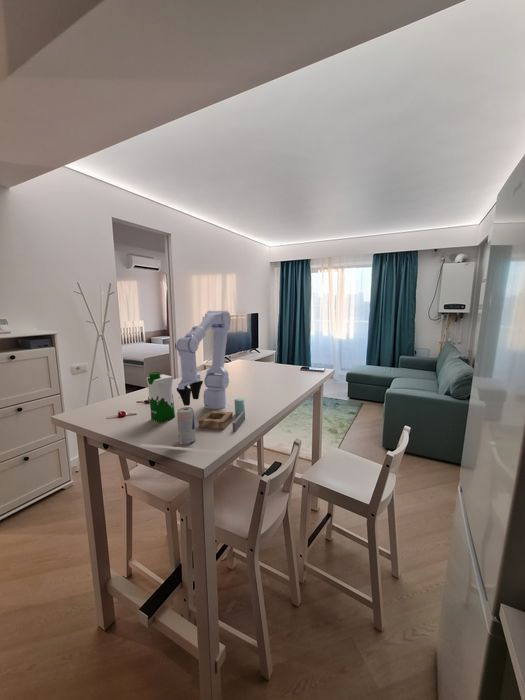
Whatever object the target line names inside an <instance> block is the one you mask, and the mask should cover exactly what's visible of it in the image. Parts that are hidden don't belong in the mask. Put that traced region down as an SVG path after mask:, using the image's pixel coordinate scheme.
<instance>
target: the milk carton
mask: <svg viewBox="0 0 525 700" xmlns="http://www.w3.org/2000/svg"><path fill="white" fill-rule="evenodd" d="M145 380H146V383H147V388H148V396H149V405H150V407H149V408H150V419H153V420H152V421H154V420H155V421H154V422H156V421H157V422H156V423H158V422H159V424H162V423H161V422H163V423H164V421H166V422H168V421H171V420H173V419H174V418H176V413H175V411H176V410H175V404H174V403H175V401H174V391H173V380H174V377H173V376H171V375H168V374H164V373H163V374H161V372H159V371H153V372H149V377H146V379H145ZM170 419H171V420H170ZM167 420H168V421H167Z"/></svg>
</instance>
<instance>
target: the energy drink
mask: <svg viewBox="0 0 525 700" xmlns="http://www.w3.org/2000/svg"><path fill="white" fill-rule="evenodd" d="M176 416H177V417H176V418H177V428H178V430H177V431H178V441H179V444H180V445H183V446H186V445H187V446H188V445H191V444H193V443H195V442H196V441H197V440H196V430H195V429H196V426H195V413H194V409H193V408H192V407H190V406H187V407H186V406H184V407H180V408H179V409H178V408H177V412H176Z"/></svg>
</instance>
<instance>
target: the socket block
mask: <svg viewBox="0 0 525 700" xmlns="http://www.w3.org/2000/svg"><path fill="white" fill-rule="evenodd" d="M233 413H234V412H233V411H219V410H218V411H217V410H216V411H215V410H208V411H207V412H206V413H205V414H204V415H203V416H201V417H200V418H199V419H198V429H213V430H214V429H215V430H225V429H226V428H227V427H228V426H229V425H230V424H231V422H232V421H234V420H233V419H234V416H233V415H234V414H233Z"/></svg>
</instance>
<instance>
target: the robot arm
mask: <svg viewBox="0 0 525 700" xmlns="http://www.w3.org/2000/svg"><path fill="white" fill-rule="evenodd" d="M231 318H232V316H231V315H230V312H229V311H228V310H227V309H225V310H208V311H206V313H205V314H204V318H203V319H202V321H201V322H200V324H199V325H193V326H192V328H191V329H190V331H188V332H187V333H186V334H185V335H184V336H183V337H180V338H179V339H177V341H176V345H175V349H176V350H177V353H178V356H179V357H180V366H181V367H180V369H181V370H180V371H181V380H180V382H179V383H178V384H177V387H176V392H177V393H178V394H179V396H180V399H181V401H182V404H183V406H184V407H186V406H187V407H190V405H191V397H192V400H199V399H200V393H201V388H202V386H203V383H204V386H205V387H206V388H205V389H204V391H203V409H214V410H220V409H225V408H226V407H228V406H230V403H227V397H226V396H227V395H226V389H228V386H229V382H230V379H229V378H230V377H229V372H228V371H227V370H226V369H225V368H224V366H225V359H226V358H225V357H226V350H227V349H226V348H227V341H228V340H227V339H228V334H229V333H228V332H229V330H230V328H231V321H232V319H231ZM209 329H211V330H213V331H214V332H215V337H214V338H215V339H214V346H213V354H212V364H211V367H210V368H208V369H207V370H206V373H205V377H204V380H201V375H200V374H198V369H197V356H196V355H197V354H196V352H197V351H198V350H199V345H200V342H201V341H202V340H203V339H204V338H205V337H206V332H207V331H208V330H209ZM203 381H204V382H203ZM188 386H189V387H188Z"/></svg>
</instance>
